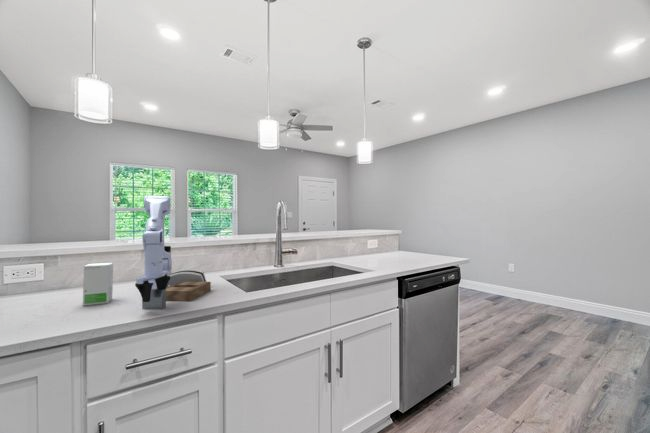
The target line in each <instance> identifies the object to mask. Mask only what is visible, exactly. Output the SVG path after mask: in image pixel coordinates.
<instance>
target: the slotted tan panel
mask: <svg viewBox="0 0 650 433" xmlns="http://www.w3.org/2000/svg"><path fill="white" fill-rule="evenodd" d="M211 283H212V282H211V281H207V282H185V281H182V282H179V283H177V284H174V285H172V286H169V287H166V302H169V301H170V302H191V301H193V300H195V299H197V298H199V297H201V296H203V295H205V294H207V293H208V292H211V287H212V286H211Z"/></svg>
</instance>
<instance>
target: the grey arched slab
mask: <svg viewBox="0 0 650 433" xmlns="http://www.w3.org/2000/svg"><path fill="white" fill-rule="evenodd" d="M170 278H171V279H170V280H169V286H172V285H174V284H177V283H179V282H182V281H185V282H208V281H207V279H206V276H205V272H203V270H202V271H201V270H197V269H180V270H177V271H174V272H171V275H170Z"/></svg>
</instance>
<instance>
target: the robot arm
mask: <svg viewBox="0 0 650 433" xmlns="http://www.w3.org/2000/svg"><path fill="white" fill-rule="evenodd" d="M143 198H144V199H143V206H144V210H145V212H146V214H147V215H150V217H148V219H147V220H146V224H145V232H142V235H141V236H142V241H141V242H142V247H143V252H144V256H143V257H144V275H141V276H140V277H138V278H135V280H136V281H135V284H134V285H135V287H136V289H137V290H138V292H139V293H140V297H141V301H142V300H143V302H149V301H150V296H151V289H166V287H169V280H170V279H171V278H170V276H168V275H169V271H170V270H171V271H172V266H173V264H172V262H173V261H172V254H171V255H170V253H168V252H166V251H165V250H164V246H165V218H166V216H168V215H170V214H171V206H172V205H171V203H172V202H171V196H170V195H147V194H145V196H144V197H143ZM162 257H166V258H162Z"/></svg>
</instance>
